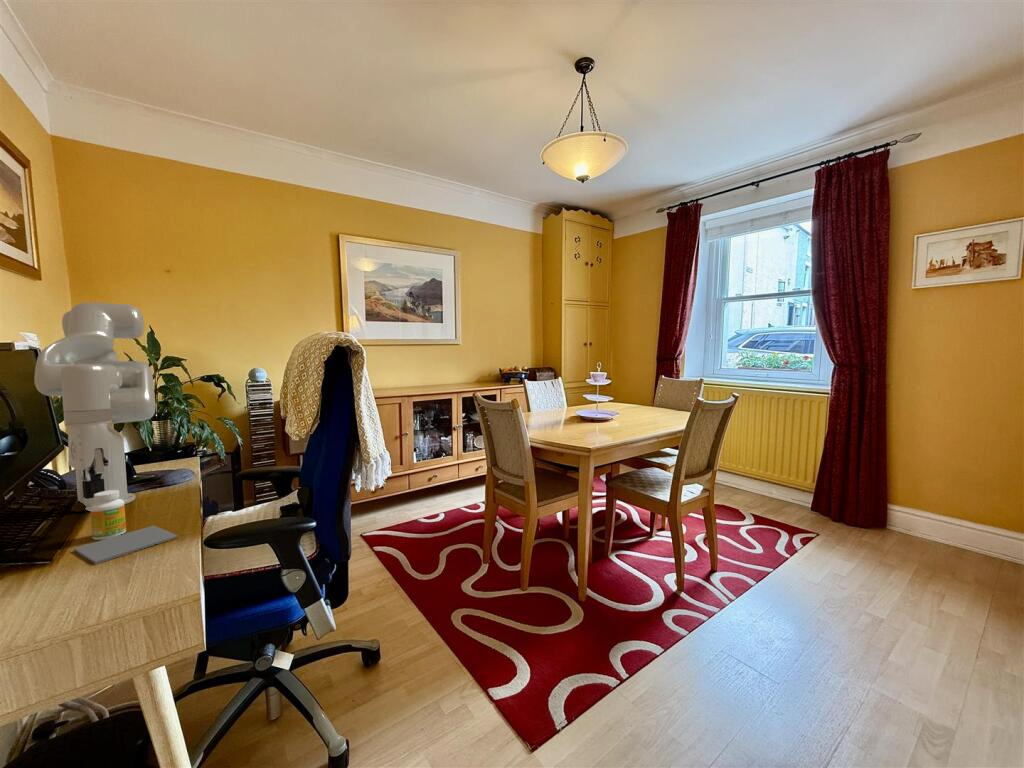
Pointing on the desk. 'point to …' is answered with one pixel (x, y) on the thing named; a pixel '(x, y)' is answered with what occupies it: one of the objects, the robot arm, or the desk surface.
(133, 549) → the rubber mat
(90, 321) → the robot arm
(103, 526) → the supplement bottle
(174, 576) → the desk surface
